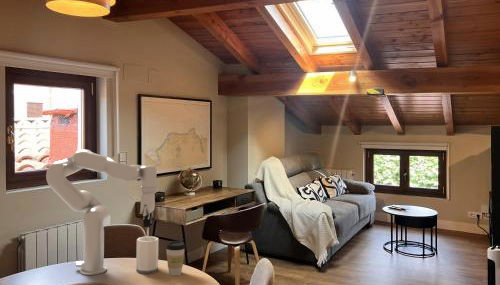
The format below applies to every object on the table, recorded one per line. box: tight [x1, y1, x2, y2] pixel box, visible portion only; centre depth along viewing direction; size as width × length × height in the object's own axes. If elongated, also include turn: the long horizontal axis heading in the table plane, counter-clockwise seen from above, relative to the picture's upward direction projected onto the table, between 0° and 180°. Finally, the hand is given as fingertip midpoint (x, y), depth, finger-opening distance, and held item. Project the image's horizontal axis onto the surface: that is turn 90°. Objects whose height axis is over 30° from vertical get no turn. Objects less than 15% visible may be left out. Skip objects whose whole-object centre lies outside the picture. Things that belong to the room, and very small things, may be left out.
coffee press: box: [135, 235, 159, 275], centre depth 213 cm, size 11×13×16 cm
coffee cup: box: [165, 240, 187, 277], centre depth 208 cm, size 10×10×15 cm
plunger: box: [146, 217, 153, 241], centre depth 211 cm, size 7×7×18 cm
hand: (147, 225), depth 211 cm, fingers closed on plunger, 3 cm apart
